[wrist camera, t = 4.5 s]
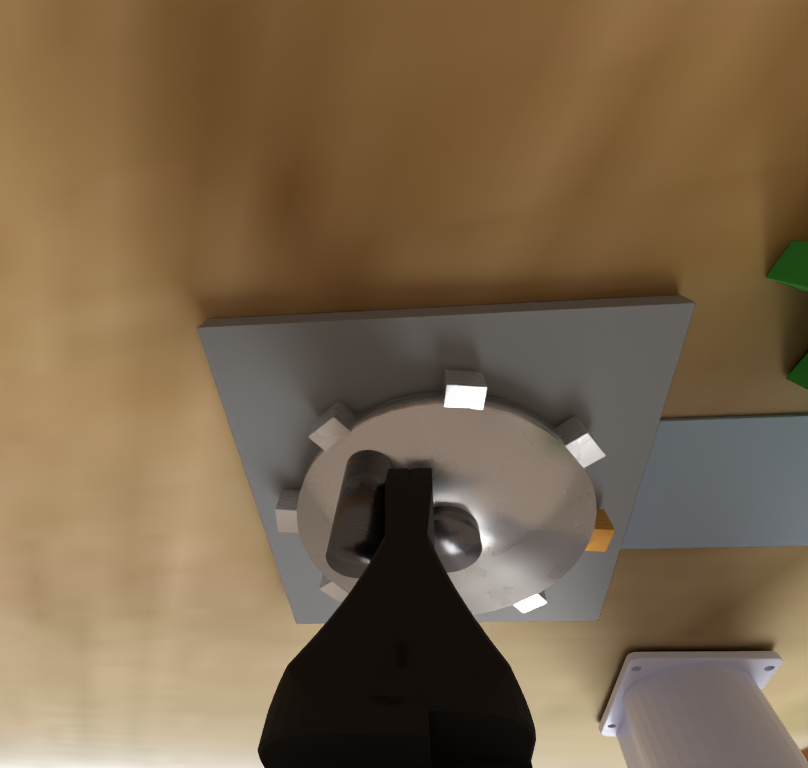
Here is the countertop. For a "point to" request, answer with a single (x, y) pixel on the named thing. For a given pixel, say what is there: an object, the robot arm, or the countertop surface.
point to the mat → (724, 484)
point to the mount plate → (423, 372)
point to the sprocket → (453, 491)
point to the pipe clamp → (803, 271)
